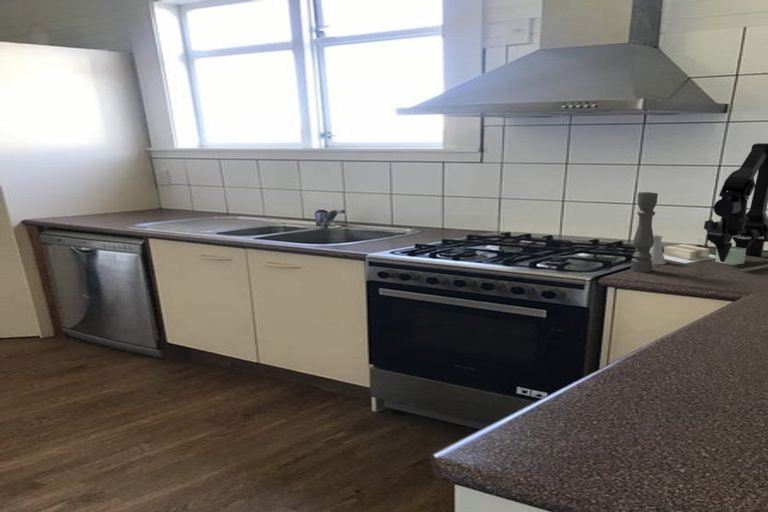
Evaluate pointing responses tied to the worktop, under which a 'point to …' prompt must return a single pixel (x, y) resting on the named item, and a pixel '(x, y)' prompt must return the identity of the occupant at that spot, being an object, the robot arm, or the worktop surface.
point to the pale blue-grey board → (688, 260)
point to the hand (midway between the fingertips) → (729, 260)
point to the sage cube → (733, 256)
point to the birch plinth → (686, 252)
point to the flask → (657, 252)
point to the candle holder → (644, 233)
